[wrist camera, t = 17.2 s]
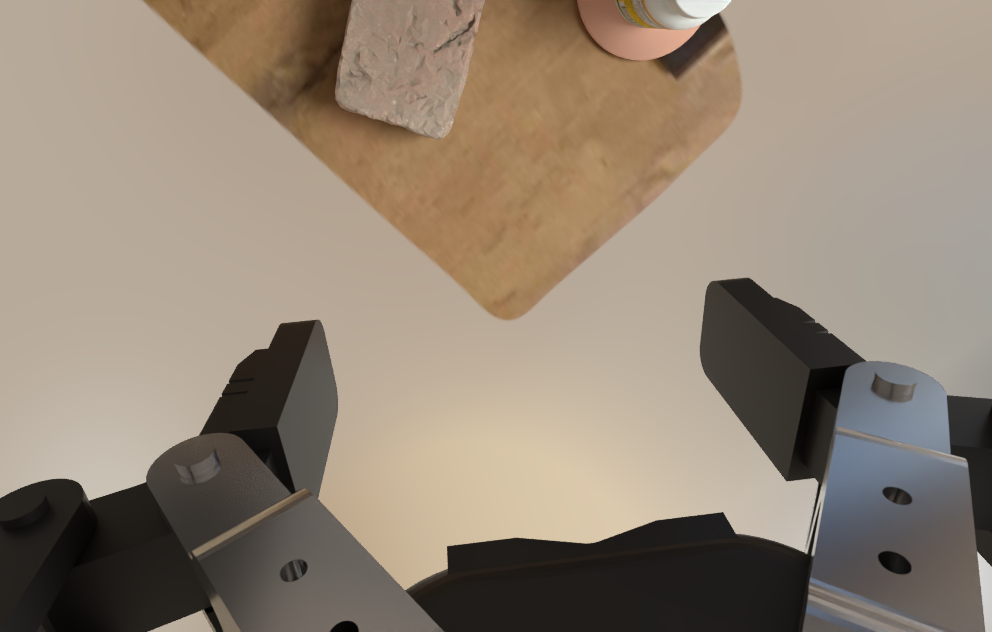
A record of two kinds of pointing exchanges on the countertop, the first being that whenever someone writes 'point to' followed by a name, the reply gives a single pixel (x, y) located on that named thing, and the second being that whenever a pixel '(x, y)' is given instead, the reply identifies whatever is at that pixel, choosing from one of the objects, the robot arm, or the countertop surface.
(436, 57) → the brick
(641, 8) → the supplement bottle
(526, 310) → the countertop surface
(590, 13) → the pink round coaster
